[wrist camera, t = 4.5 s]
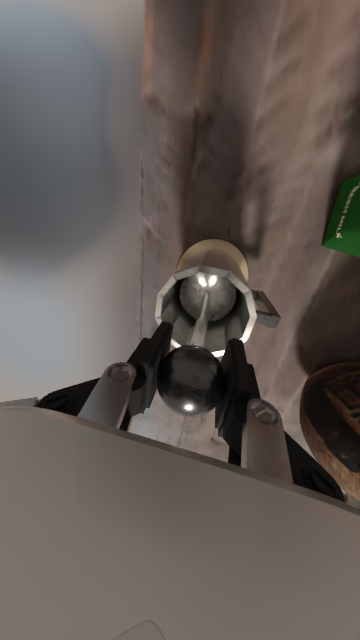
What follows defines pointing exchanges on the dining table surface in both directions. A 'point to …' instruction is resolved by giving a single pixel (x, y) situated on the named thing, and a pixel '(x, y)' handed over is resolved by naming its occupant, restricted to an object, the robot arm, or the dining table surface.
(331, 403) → the ceramic vessel
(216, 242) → the cork coaster
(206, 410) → the ball-topped lever
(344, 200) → the milk carton
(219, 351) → the white mug
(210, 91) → the dining table surface
